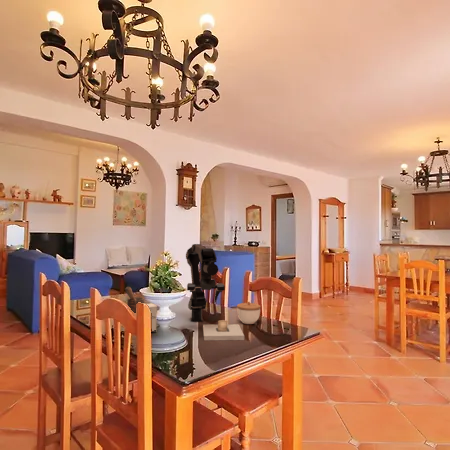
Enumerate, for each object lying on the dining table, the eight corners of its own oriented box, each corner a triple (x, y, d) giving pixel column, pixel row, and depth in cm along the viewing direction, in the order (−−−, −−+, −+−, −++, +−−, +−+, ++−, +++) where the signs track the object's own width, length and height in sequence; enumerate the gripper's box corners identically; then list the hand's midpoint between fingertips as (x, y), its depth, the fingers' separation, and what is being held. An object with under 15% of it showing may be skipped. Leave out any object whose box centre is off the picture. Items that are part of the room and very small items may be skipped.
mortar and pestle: (138, 328, 161) (139, 287, 161) (121, 327, 161) (122, 287, 162) (145, 321, 172) (147, 284, 173) (130, 321, 173) (131, 283, 173)
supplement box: (140, 334, 151) (141, 307, 151) (137, 330, 157) (138, 304, 157) (156, 332, 154) (157, 306, 154) (152, 328, 160) (153, 302, 161)
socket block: (202, 328, 162) (203, 324, 162) (238, 328, 164) (238, 324, 164) (204, 340, 144) (204, 335, 144) (244, 340, 146) (244, 335, 146)
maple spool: (217, 332, 156) (217, 320, 156) (226, 332, 157) (226, 320, 157) (218, 335, 152) (218, 322, 152) (227, 335, 152) (227, 322, 152)
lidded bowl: (248, 327, 167) (248, 305, 167) (232, 321, 176) (232, 301, 176) (265, 323, 175) (265, 302, 175) (248, 318, 184) (248, 298, 185)
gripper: (187, 274, 155) (186, 307, 155) (226, 275, 157) (225, 307, 156) (187, 272, 166) (186, 302, 166) (223, 272, 168) (223, 302, 168)
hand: (205, 304), depth 164 cm, fingers open, 9 cm apart
